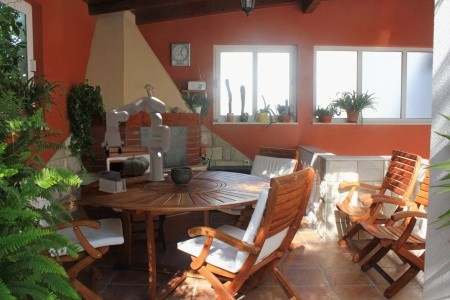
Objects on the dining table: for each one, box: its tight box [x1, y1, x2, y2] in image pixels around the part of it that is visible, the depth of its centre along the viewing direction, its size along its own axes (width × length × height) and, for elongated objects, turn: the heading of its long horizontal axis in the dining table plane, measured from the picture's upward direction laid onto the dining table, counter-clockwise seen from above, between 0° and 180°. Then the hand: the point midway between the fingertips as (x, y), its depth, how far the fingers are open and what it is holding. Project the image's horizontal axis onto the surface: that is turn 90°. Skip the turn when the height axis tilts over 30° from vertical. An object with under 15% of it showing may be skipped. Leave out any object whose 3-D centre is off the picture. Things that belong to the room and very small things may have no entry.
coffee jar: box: [108, 158, 126, 179], centre depth 299 cm, size 11×11×18 cm
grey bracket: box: [98, 170, 120, 182], centre depth 275 cm, size 7×14×6 cm, turn 48°
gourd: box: [123, 154, 150, 177], centre depth 345 cm, size 25×25×17 cm
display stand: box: [98, 178, 128, 194], centre depth 278 cm, size 10×18×8 cm, turn 48°
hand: (113, 154), depth 277 cm, fingers open, 9 cm apart
